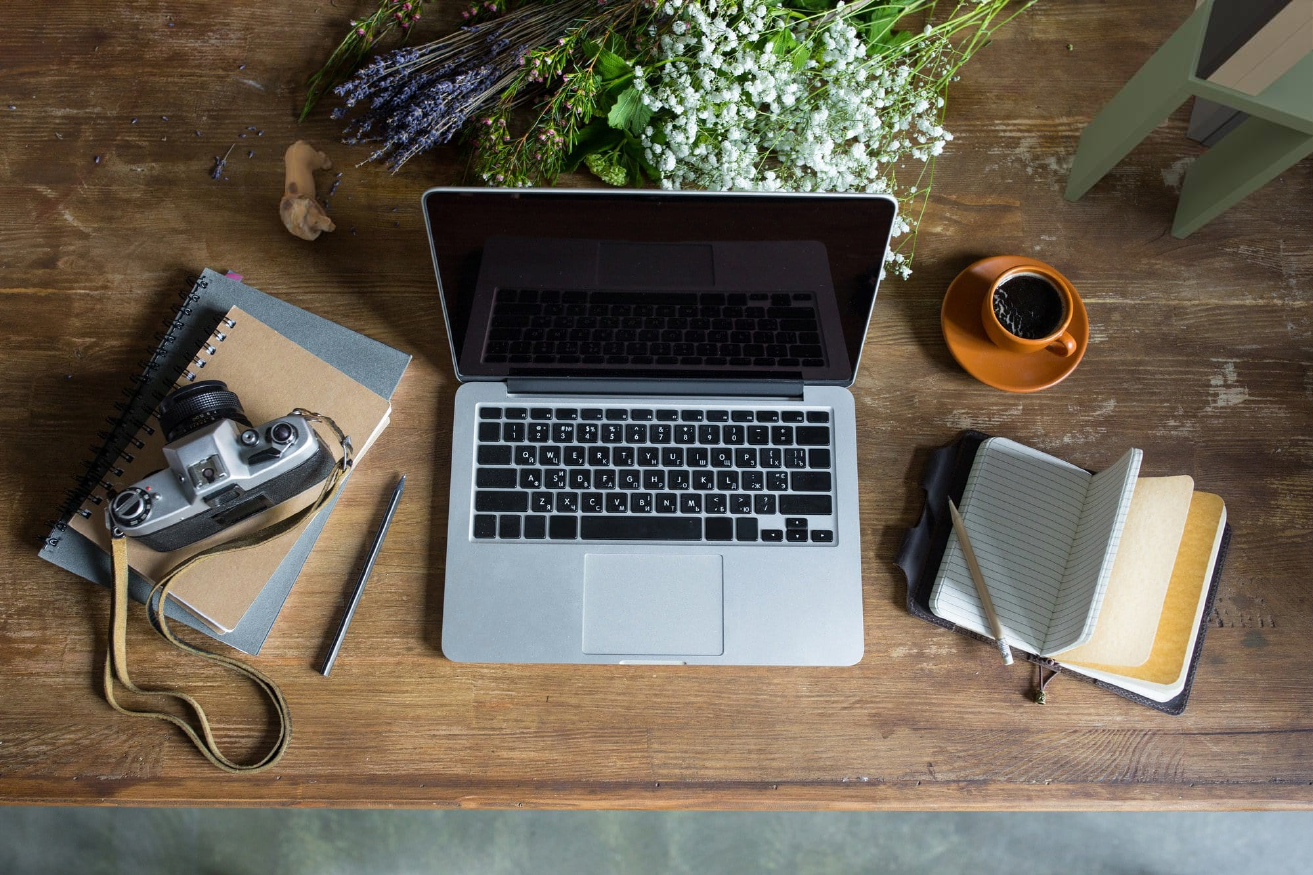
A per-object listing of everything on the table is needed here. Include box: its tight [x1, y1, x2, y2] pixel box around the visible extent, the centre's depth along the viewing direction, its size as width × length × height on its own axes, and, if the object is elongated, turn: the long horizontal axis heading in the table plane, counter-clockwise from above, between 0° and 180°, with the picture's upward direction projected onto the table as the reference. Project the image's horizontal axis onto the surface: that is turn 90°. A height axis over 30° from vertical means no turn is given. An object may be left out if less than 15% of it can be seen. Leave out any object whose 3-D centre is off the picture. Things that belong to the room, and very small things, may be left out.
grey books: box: [1185, 95, 1252, 149], centre depth 93 cm, size 4×9×12 cm, turn 160°
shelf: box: [1062, 0, 1313, 241], centre depth 86 cm, size 15×10×22 cm, turn 70°
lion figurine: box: [279, 139, 337, 241], centre depth 88 cm, size 15×5×9 cm, turn 16°
